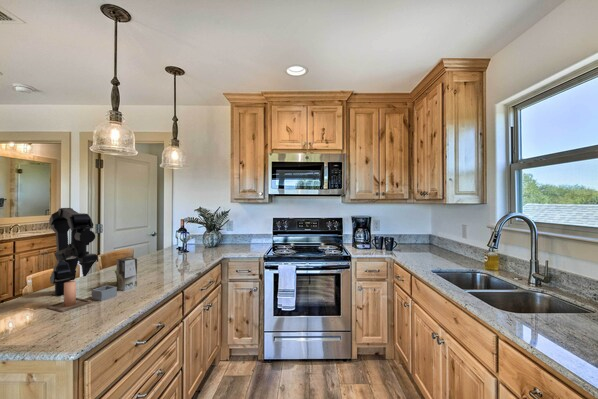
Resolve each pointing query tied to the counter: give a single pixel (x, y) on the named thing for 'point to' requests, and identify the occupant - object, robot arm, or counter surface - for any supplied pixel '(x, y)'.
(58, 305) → the tray
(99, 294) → the open box
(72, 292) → the dowel
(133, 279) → the coffee box
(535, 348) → the counter surface
